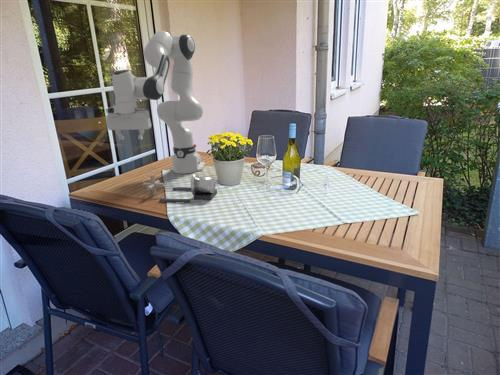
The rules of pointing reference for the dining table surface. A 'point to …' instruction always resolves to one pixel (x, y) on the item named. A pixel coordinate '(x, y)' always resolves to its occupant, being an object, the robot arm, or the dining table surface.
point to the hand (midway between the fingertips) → (131, 139)
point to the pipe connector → (153, 184)
